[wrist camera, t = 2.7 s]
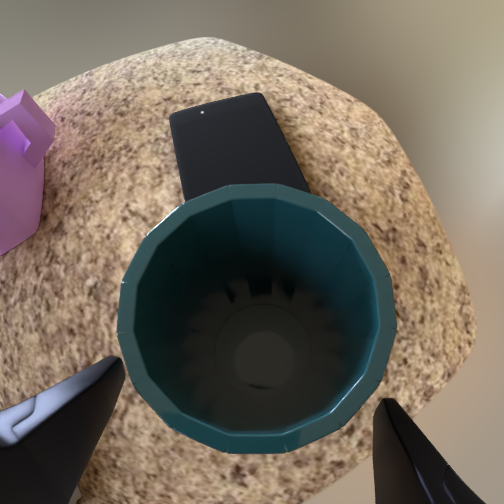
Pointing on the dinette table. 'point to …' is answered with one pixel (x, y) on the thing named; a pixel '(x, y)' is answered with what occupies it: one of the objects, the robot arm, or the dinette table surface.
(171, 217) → the tumbler
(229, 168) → the cell phone
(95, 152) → the dinette table surface
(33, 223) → the teakettle
